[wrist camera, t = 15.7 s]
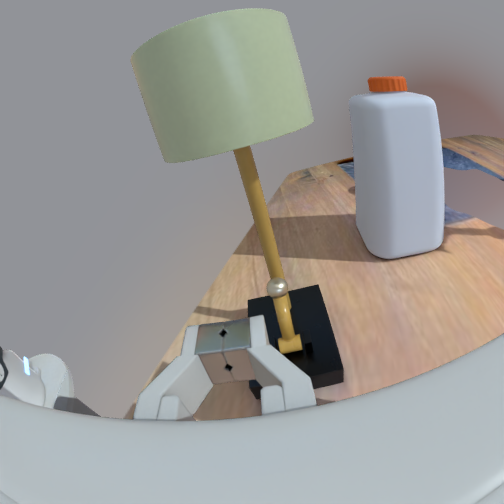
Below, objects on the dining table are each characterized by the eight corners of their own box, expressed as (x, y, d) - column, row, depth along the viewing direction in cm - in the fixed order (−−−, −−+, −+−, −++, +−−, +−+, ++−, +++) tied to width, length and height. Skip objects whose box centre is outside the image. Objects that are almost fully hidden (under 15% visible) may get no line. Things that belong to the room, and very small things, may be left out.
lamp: (360, 377, 27) (312, -24, 8) (239, 401, 29) (71, 56, 10) (327, 279, 42) (277, 34, 24) (240, 298, 44) (157, 68, 25)
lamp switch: (303, 353, 28) (287, 278, 27) (281, 358, 28) (262, 283, 27) (301, 343, 30) (286, 272, 29) (281, 348, 30) (263, 277, 29)
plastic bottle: (417, 210, 51) (407, 75, 36) (450, 250, 38) (452, 78, 23) (352, 221, 54) (329, 80, 39) (372, 266, 41) (353, 79, 27)
